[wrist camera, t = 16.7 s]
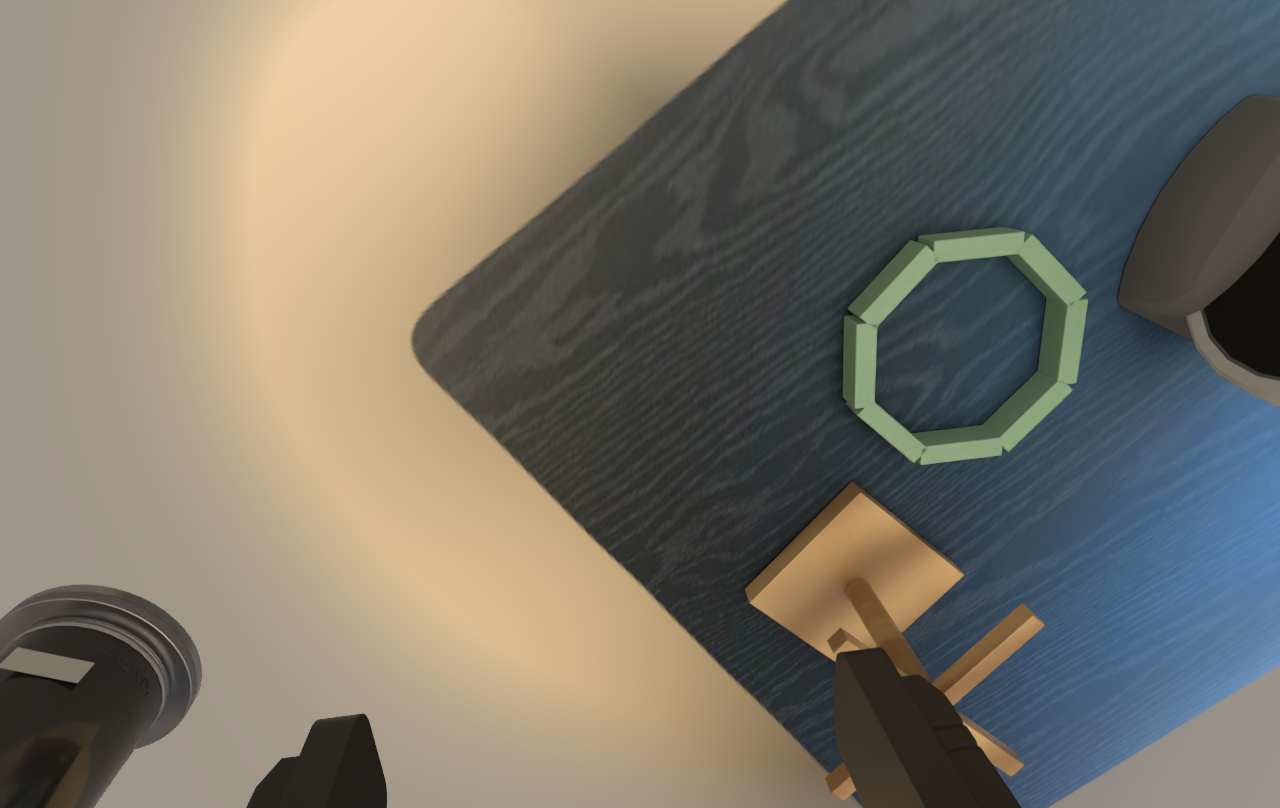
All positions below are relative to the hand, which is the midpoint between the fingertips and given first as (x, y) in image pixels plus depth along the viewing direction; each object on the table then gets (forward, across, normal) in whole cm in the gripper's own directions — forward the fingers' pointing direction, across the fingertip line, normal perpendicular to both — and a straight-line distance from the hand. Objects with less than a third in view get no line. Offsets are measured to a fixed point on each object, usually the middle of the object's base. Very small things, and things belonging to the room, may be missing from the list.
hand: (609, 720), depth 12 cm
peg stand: (+30, -16, +20) cm, 39 cm away
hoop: (+30, -22, +4) cm, 37 cm away
